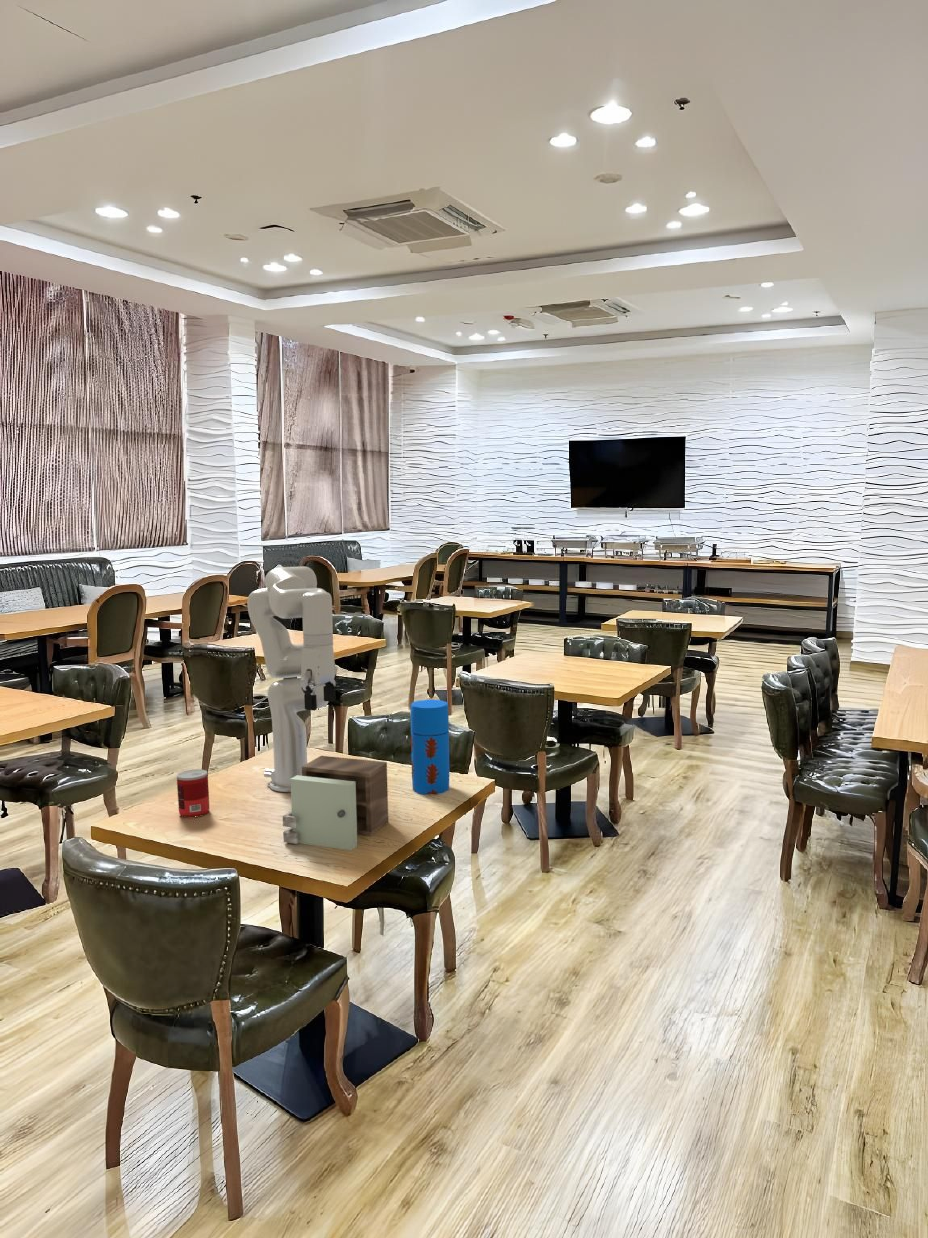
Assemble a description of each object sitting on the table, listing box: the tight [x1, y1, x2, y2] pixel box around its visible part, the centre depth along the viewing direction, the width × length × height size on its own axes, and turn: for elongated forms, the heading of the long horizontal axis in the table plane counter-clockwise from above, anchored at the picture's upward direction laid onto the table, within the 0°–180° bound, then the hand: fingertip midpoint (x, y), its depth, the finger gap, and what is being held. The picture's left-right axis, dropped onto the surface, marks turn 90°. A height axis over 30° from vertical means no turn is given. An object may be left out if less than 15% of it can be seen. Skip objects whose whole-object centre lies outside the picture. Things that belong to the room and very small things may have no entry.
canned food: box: [176, 768, 210, 818], centre depth 232 cm, size 8×8×11 cm
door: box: [290, 775, 358, 851], centre depth 209 cm, size 16×4×16 cm, turn 70°
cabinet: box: [282, 755, 389, 845], centre depth 217 cm, size 19×21×16 cm
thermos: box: [409, 699, 450, 796], centre depth 248 cm, size 11×11×25 cm
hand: (320, 705), depth 224 cm, fingers open, 9 cm apart
